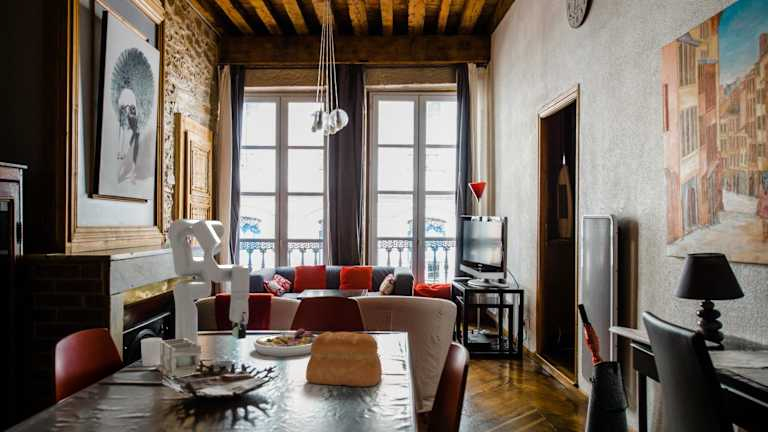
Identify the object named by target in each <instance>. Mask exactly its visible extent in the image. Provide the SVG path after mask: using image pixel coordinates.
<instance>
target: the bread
mask: <svg viewBox="0 0 768 432" xmlns="http://www.w3.org/2000/svg"><path fill="white" fill-rule="evenodd" d="M317 336H318V337H316V339H315V340H314V341H313V343H312V346H311V353H310V354H311V355H310V358H309V359H308V362H307V366H306V369H305V370H306V372H305V379H306V381H307V382H308V383H312V384H314V385H315V384H316V385H321V384H324V385H331V386H343V385H345V386H348V387H373V386H375V385H378V384H379V382H380V381H381V380H382V373H383V370H382V363H381V359H380V357H379V355H378V348H379V347H378V342H377V341H376V338H374V337H373V335H371V334H369V333H366V332H363V333H358V332H353V331H352V332H348V331H339V332H338V331H337V332H335V333H334V332H331V331H326V332H323V333H321V334H319V335H317Z"/></svg>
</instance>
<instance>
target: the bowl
mask: <svg viewBox="0 0 768 432" xmlns="http://www.w3.org/2000/svg"><path fill="white" fill-rule="evenodd" d="M318 336H319V335H315V334H313V333H312V332H311V331H306V330H305V329H304V328H299V329H297V330H296V331H295V333H293V332H292V333H291V332H290V333H279V334H278V333H277V334H269V335H264V336H262V337H259V338H256V339H255V340H253V346H254V350H255V351H256V352H257V353H259V354H261V355H262V356H267V357H275V358H276V357H277V358H280V357H281V358H286V357H289V358H290V357H298V356H299V357H300V356H304V355H308V354H311V346H312V343H313V341H314V340H315V339H316V337H318Z"/></svg>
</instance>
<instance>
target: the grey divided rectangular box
mask: <svg viewBox="0 0 768 432" xmlns="http://www.w3.org/2000/svg"><path fill="white" fill-rule="evenodd" d="M201 354H202V345H201V346H199V345H197V344H196V343H194V342H192V341H190V340H188V339H186V338H180V339H176V338H173V339H167V340H165V339H164V340H162V341H160V364H156V365H155V366H156V369H157V370H159V371H160V372H161V373H162V374H163V375H165V376H166V375H167V376H174V375H175V376H181V375H188V374H192V373H194V372H195V371H196V368H197V367H198V366H199V363H200V364H201ZM186 356H189V357H190V358H191V365H190V366H187V367H181V368H177V366H176V359H177V358H179V357H186ZM167 376H166V377H167Z"/></svg>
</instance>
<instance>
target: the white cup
mask: <svg viewBox="0 0 768 432" xmlns="http://www.w3.org/2000/svg"><path fill="white" fill-rule="evenodd" d="M160 341H163V338H162V337H148V338H143V339H141V340H140V343H141V344H140V345H141V346H140V348H141V361H142V363H141V364H142V366H144V367H153V366H156V364H160Z"/></svg>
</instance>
